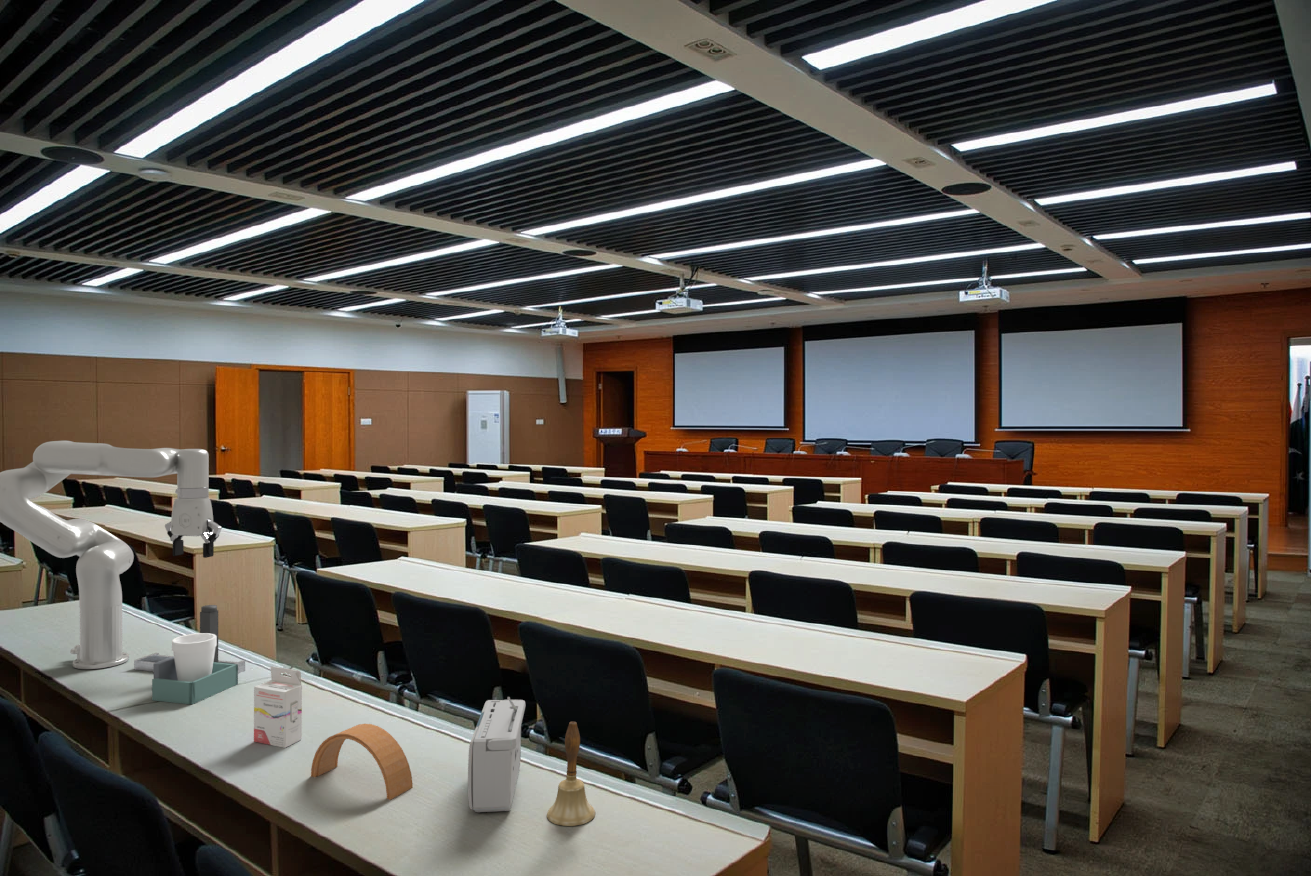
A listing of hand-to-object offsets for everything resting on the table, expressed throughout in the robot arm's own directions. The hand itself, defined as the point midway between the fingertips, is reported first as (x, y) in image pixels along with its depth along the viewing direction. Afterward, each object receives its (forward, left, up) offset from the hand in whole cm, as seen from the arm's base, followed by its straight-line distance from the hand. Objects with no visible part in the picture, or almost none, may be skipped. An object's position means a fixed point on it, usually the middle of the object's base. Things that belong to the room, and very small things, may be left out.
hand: (193, 556), depth 227 cm
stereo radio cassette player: (+113, -53, -29) cm, 128 cm away
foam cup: (+21, -23, -28) cm, 42 cm away
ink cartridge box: (+60, -44, -29) cm, 80 cm away
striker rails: (+7, -9, -28) cm, 31 cm away
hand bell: (+129, -59, -29) cm, 145 cm away
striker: (+14, -18, -28) cm, 36 cm away
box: (+22, -23, -28) cm, 42 cm away
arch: (+87, -57, -29) cm, 108 cm away
